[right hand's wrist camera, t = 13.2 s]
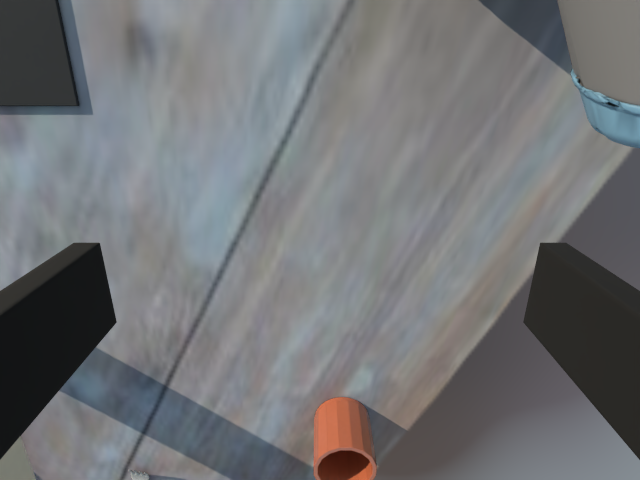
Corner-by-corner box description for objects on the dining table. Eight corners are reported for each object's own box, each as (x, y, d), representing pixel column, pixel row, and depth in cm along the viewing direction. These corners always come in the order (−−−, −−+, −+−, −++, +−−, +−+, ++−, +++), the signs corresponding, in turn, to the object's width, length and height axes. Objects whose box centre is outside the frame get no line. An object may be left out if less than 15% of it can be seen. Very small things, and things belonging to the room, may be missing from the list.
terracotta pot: (370, 396, 54) (378, 447, 47) (367, 438, 57) (374, 493, 49) (314, 397, 54) (313, 447, 46) (314, 439, 57) (313, 493, 49)
